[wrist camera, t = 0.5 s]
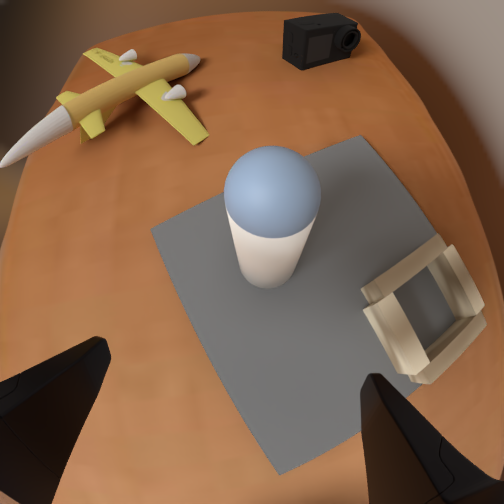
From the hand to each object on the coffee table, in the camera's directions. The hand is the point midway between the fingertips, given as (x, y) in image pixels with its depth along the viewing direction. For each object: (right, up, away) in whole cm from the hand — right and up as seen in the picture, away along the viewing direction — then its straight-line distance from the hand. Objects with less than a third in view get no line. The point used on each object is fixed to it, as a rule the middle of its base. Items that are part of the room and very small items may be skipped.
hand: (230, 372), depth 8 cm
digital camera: (+11, +32, +25) cm, 42 cm away
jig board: (+8, +1, +14) cm, 16 cm away
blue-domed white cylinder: (+2, +3, +14) cm, 14 cm away
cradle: (+15, -1, +13) cm, 20 cm away
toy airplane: (-15, +21, +22) cm, 34 cm away
